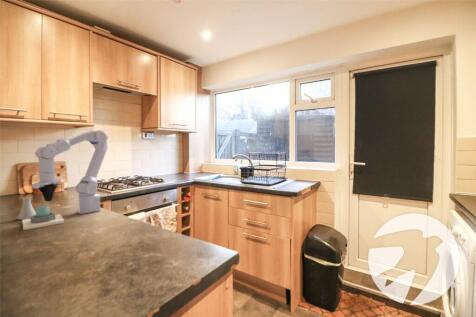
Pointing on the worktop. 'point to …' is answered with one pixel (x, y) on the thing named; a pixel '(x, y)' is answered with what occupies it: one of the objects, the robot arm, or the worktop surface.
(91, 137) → the robot arm
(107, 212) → the worktop surface
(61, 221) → the mount
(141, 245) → the worktop surface
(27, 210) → the flask
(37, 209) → the cap
